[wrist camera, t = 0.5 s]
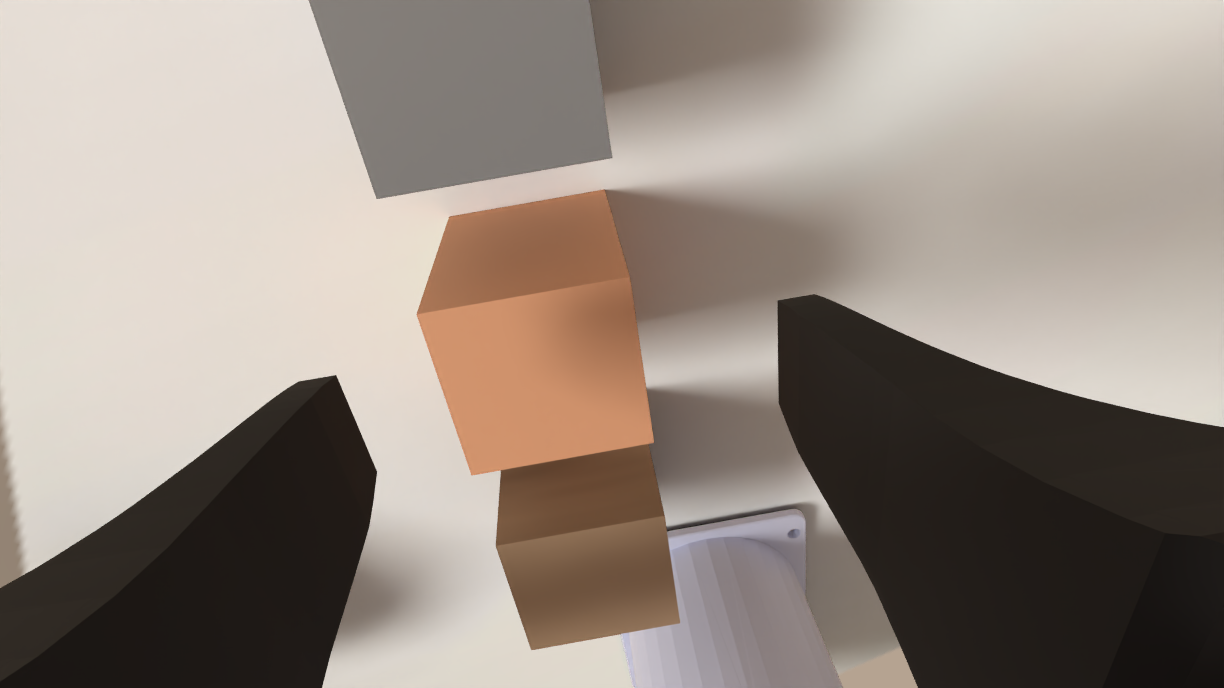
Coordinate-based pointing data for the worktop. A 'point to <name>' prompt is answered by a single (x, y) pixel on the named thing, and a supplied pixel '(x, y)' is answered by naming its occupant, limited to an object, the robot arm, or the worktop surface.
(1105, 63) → the worktop surface
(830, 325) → the robot arm
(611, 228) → the terracotta block
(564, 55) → the charcoal block
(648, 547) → the walnut block
